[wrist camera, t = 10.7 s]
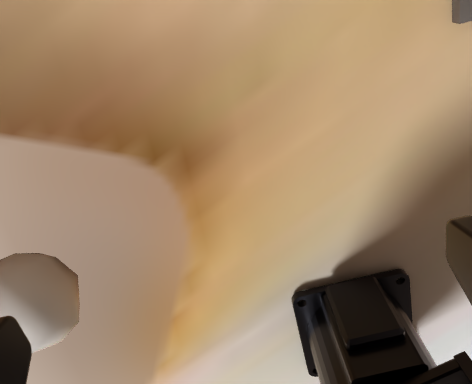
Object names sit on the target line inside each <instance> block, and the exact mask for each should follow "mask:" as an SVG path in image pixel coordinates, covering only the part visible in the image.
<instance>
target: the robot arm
mask: <svg viewBox="0 0 472 384" xmlns="http://www.w3.org/2000/svg"><path fill="white" fill-rule="evenodd" d="M446 257H447V261H448V263H449V266H450V267H451V269H452V271H453V273H454V275H455V276H456V278H457V280H458V282H459V283H460V285H461V287H462V289H463V291H464V292H465V294H466V296H467V298H468V299H469V301H470V303H471V305H472V216H463V217H458V218H454V219H450V220H449V221H448V222H447V225H446ZM399 277H401V278H400V279H399V280H397V279H398V278H399ZM300 300H304V301H302V302H298V301H300ZM292 304H293V308H294V313H295V317H296V321H297V326H298V330H299V334H300V339H301V343H302V347H303V352H304V356H305V360H306V365H307V369H308V372H309V374H310V375H311V376H314V377H316V376H318V377H319V380H320V384H472V360H471V359H470V358H469V356H468V355H467V354H466V352H465V351H464V352H462V353H459V354H457V355H455V356H453V357H454V359H452V360H449V361H447V362H445V363H443V364H440V365H438V366H437V365H436V364H435V362H434V360H433V359H432V357H431V355H430V354H429V352H428V350H427V348H426V347H425V345H424V343H423V342H422V340H421V338H420V337H419V335H418V333H417V331H416V330H415V328H414V326H413V324H412V309H411V294H410V279H409V276H408V275H407V273H406V272H405V271H404V270H402V269H396V270H392V271H387V272H383V273H379V274H374V275H370V276H365V277H361V278H357V279H352V280H348V281H344V282H339V283H335V284H331V285H326V286H322V287H318V288H313V289H309V290H305V291H300V292H297V293H295V294H294V295H293V296H292ZM31 355H32V348H31V344H30V342H29V340H28V338H27V337H26V335H25V333H24V332H23V330H22V328H21V327H20V325H19V323H18V322H17V320H16V319H15V318H14V317H12V316H4V317H0V384H26V382H27V376H28V372H29V366H30V361H31Z"/></svg>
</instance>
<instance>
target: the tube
mask: <svg viewBox="0 0 472 384" xmlns="http://www.w3.org/2000/svg"><path fill="white" fill-rule="evenodd" d="M79 305H80V303H79V289H78V275H77V274H75V273H74V272H73V271H72V270H71V269H69V268H68V267H67V266H66V265H65V264H63V263H62V262H61V261H60V260H59V259H57V258H56V257H52V256H48V255H44V254H40V253H31V254H29V253H28V254H13V255H11V256H8V257H6V258H4V259H1V260H0V317H4V316H12V317H14V318H15V319H16V320H17V322H18V323H19V325H20V327H21V328H22V330H23V332H24V333H25V335H26V337H27V338H28V340H29V342H30V344H31V348H32V353H34V352H37V351H39V350H42V349H44V348H47V347H49V346H52V345H54V344H57V343H60V342H61V341H62V340H63V339H64V338H65V337H66V336H67V335H68V333H69V332H70V331H71V330H72V329H73V328H74V327H75V326H76V325H77V324H78V322H79V307H80V306H79Z"/></svg>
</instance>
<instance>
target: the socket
mask: <svg viewBox="0 0 472 384" xmlns="http://www.w3.org/2000/svg"><path fill="white" fill-rule="evenodd" d="M469 21H472V0H452V22H454V23H458V24H461V23H465V22H469Z"/></svg>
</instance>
